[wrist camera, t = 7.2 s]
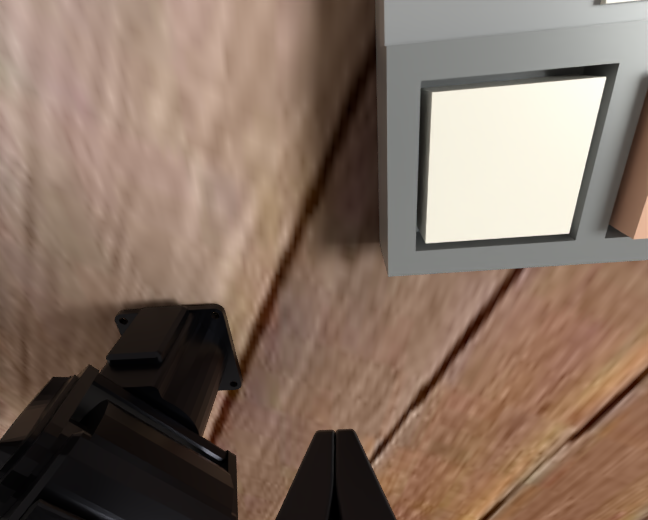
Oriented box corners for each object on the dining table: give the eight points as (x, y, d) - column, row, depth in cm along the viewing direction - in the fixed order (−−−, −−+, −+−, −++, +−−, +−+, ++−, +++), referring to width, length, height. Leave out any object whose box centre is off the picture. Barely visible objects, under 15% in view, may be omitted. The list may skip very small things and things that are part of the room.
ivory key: (545, 215, 18) (569, 233, 16) (416, 225, 18) (425, 243, 16) (574, 74, 15) (606, 76, 13) (420, 88, 15) (432, 92, 14)
